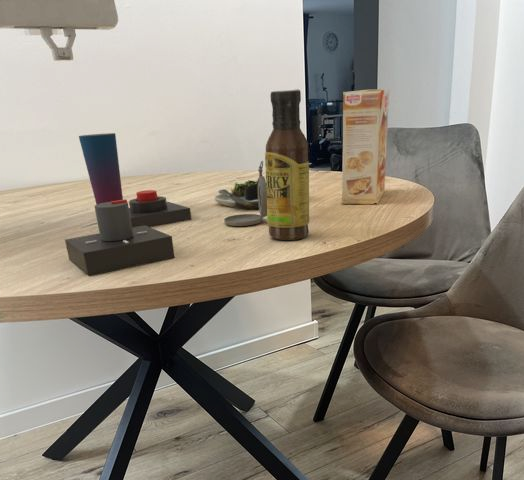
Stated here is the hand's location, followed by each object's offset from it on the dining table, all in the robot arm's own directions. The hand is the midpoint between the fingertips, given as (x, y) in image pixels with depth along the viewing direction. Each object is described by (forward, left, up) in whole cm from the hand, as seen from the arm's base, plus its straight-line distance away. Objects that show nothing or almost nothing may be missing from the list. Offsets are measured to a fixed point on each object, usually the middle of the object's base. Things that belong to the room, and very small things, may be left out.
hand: (63, 60), depth 86 cm
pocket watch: (+20, -24, -27) cm, 41 cm away
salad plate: (+32, -8, -27) cm, 43 cm away
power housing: (+8, -8, -27) cm, 29 cm away
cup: (+5, +6, -27) cm, 28 cm away
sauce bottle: (+19, -37, -27) cm, 50 cm away
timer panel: (-5, -30, -27) cm, 41 cm away
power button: (+8, -8, -23) cm, 26 cm away
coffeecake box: (+49, -21, -27) cm, 60 cm away
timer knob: (-5, -30, -24) cm, 39 cm away
